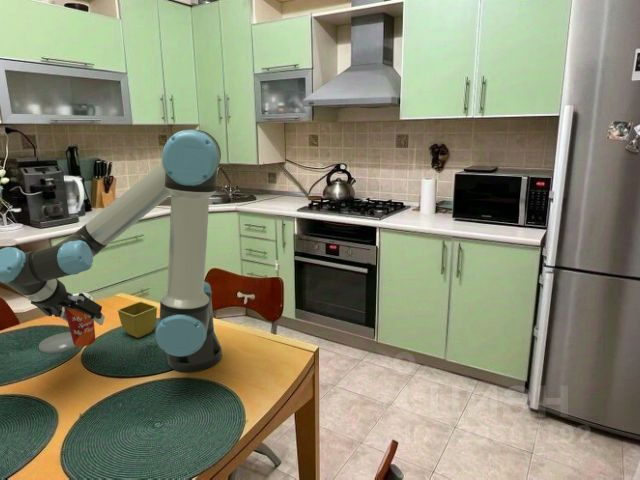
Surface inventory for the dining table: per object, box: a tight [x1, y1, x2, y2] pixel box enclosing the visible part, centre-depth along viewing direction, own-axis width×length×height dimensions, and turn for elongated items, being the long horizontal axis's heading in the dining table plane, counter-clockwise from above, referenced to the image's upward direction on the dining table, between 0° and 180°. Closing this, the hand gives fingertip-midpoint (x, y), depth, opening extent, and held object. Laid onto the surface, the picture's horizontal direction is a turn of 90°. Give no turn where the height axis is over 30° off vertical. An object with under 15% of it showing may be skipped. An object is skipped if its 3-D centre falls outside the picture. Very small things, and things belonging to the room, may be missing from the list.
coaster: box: [38, 331, 77, 355], centre depth 138 cm, size 12×12×1 cm
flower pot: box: [117, 301, 158, 339], centre depth 143 cm, size 9×9×9 cm
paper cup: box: [65, 292, 96, 348], centre depth 126 cm, size 8×8×14 cm
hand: (88, 320), depth 130 cm, fingers closed on paper cup, 8 cm apart
